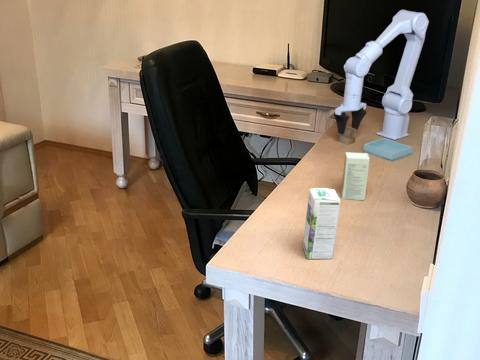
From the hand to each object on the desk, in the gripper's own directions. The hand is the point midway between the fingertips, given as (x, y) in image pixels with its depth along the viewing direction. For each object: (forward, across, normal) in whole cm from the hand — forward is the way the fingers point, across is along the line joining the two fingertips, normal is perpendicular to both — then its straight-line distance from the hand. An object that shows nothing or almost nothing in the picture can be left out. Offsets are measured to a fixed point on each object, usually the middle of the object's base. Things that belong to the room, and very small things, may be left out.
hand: (347, 131), depth 185 cm
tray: (+4, -3, +15) cm, 16 cm away
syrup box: (+4, +65, +44) cm, 79 cm away
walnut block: (+4, 0, 0) cm, 4 cm away
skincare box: (+4, +35, +30) cm, 46 cm away
